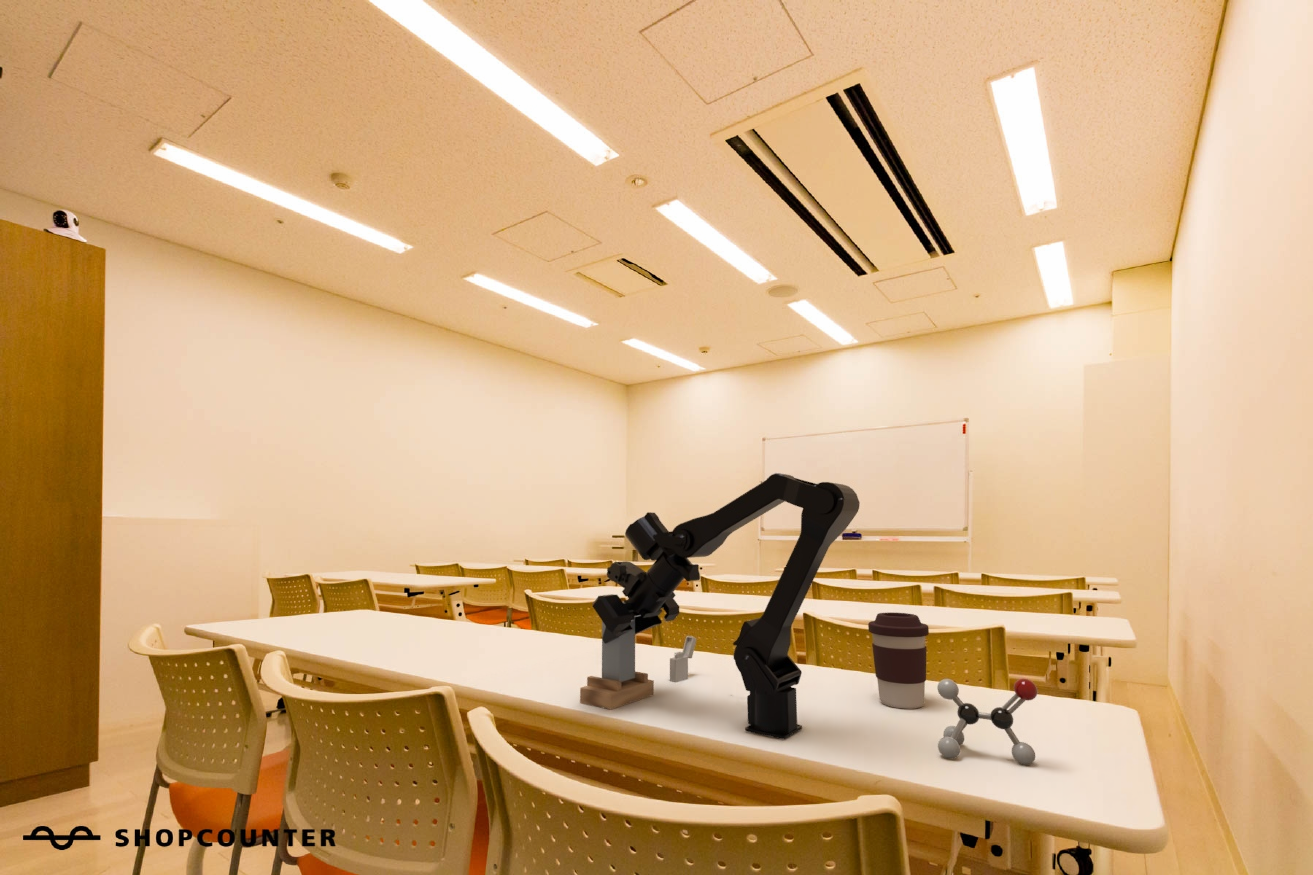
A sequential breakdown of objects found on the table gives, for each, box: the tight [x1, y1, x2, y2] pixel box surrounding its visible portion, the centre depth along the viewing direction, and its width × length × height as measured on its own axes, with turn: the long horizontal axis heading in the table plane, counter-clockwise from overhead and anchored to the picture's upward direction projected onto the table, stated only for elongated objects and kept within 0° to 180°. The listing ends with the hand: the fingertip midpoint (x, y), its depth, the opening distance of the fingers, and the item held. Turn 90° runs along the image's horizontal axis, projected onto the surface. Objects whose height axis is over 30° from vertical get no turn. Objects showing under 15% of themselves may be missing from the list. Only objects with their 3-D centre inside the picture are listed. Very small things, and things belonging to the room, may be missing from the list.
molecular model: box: [937, 678, 1039, 766], centre depth 85 cm, size 8×12×11 cm
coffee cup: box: [867, 612, 930, 710], centre depth 111 cm, size 10×10×15 cm
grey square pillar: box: [601, 617, 636, 682], centre depth 114 cm, size 4×4×13 cm
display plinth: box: [579, 671, 655, 710], centre depth 113 cm, size 7×12×4 cm, turn 143°
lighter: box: [669, 635, 697, 683], centre depth 129 cm, size 7×2×8 cm, turn 141°
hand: (612, 639), depth 115 cm, fingers closed on grey square pillar, 4 cm apart
